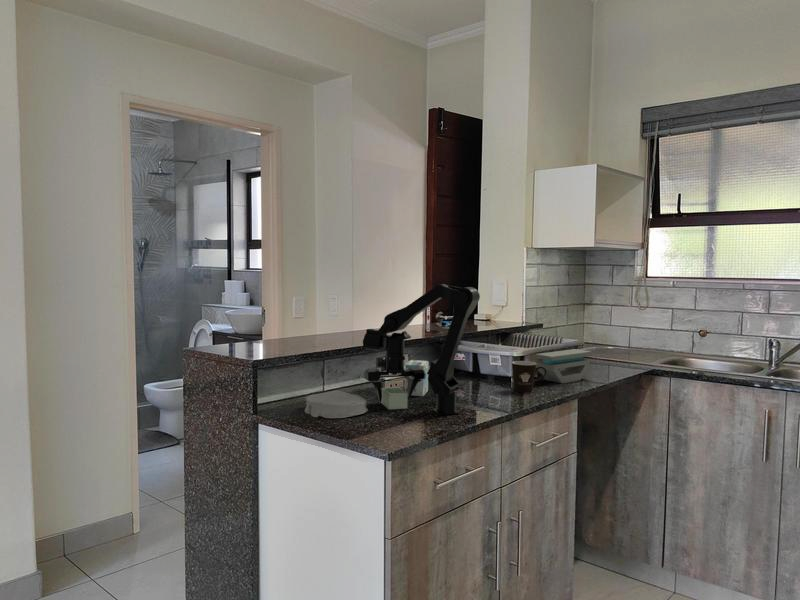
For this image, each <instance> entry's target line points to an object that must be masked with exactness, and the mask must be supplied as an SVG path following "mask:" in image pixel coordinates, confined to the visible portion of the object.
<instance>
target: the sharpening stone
mask: <svg viewBox="0 0 800 600" xmlns="http://www.w3.org/2000/svg"><path fill="white" fill-rule="evenodd" d="M592 353H593V351H591V350H585V349H577V348H573V349H566V350H565V349H564V350H559V351H557V350H556V351H550V352H542V353H541V352H540V353H536V354H535V356H534V358H535V359H538V360H543V361H539V362H536V368H538V367H544V368H545V369H546V375H545V376H544V377H543V378H544V380H545V381H549V382H553V383H559V384H567V383H571V382H578V381H581V380H582V378H583V377H584V376H585V374H586V372H587V370H588V368H589V367H590V363H591V359H586V358H584V357H589V356H593V355H592ZM559 369H562V370H559ZM563 369H564V370H563ZM537 371H538V372H539V373H540V374H541V375H542V376H543V375H544V374H545V370H544V369H542V368H540V369H538V370H537Z"/></svg>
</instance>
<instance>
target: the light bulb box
mask: <svg viewBox="0 0 800 600" xmlns="http://www.w3.org/2000/svg"><path fill="white" fill-rule="evenodd" d="M416 367H419V368H421V369H423V370H424V371H425V379H421V382H418V383H417V385H416V387H415V388H414V390H413V393H412V395H411V397H412V396H414V397H424V396H425V395H426V393H427V392H428V391H429V381H428V375H429V374H427V373H428V371H429V361H428V360H417V359H410V360H409V361H408V362H407V363H405V364H404V369H405V371H408V369H409V368H416ZM407 377H409V376H406V377H404V391H405V392H407V387H408V380H407Z"/></svg>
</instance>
